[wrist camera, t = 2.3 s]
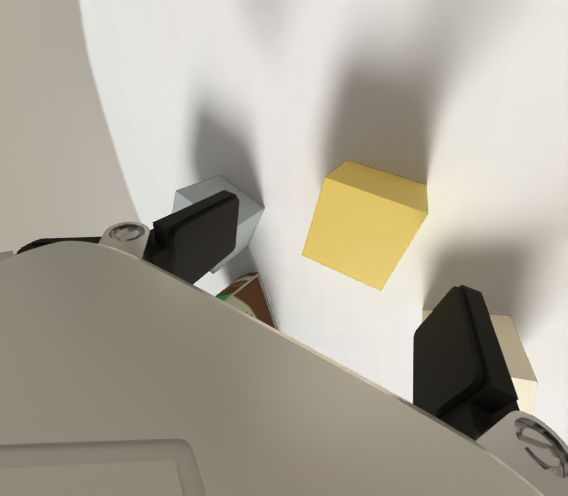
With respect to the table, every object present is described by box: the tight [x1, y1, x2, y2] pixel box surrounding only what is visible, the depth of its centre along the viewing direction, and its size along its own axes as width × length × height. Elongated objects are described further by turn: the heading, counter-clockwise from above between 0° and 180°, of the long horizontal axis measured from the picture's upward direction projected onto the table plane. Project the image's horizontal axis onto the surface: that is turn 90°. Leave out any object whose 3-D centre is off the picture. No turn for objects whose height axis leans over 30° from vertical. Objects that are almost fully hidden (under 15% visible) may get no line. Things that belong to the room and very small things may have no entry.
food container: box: [215, 273, 278, 330], centre depth 24 cm, size 12×6×10 cm, turn 18°
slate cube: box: [172, 176, 265, 274], centre depth 21 cm, size 5×5×5 cm
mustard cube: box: [302, 160, 428, 291], centre depth 15 cm, size 5×5×5 cm
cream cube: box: [422, 309, 538, 415], centre depth 16 cm, size 5×5×5 cm
